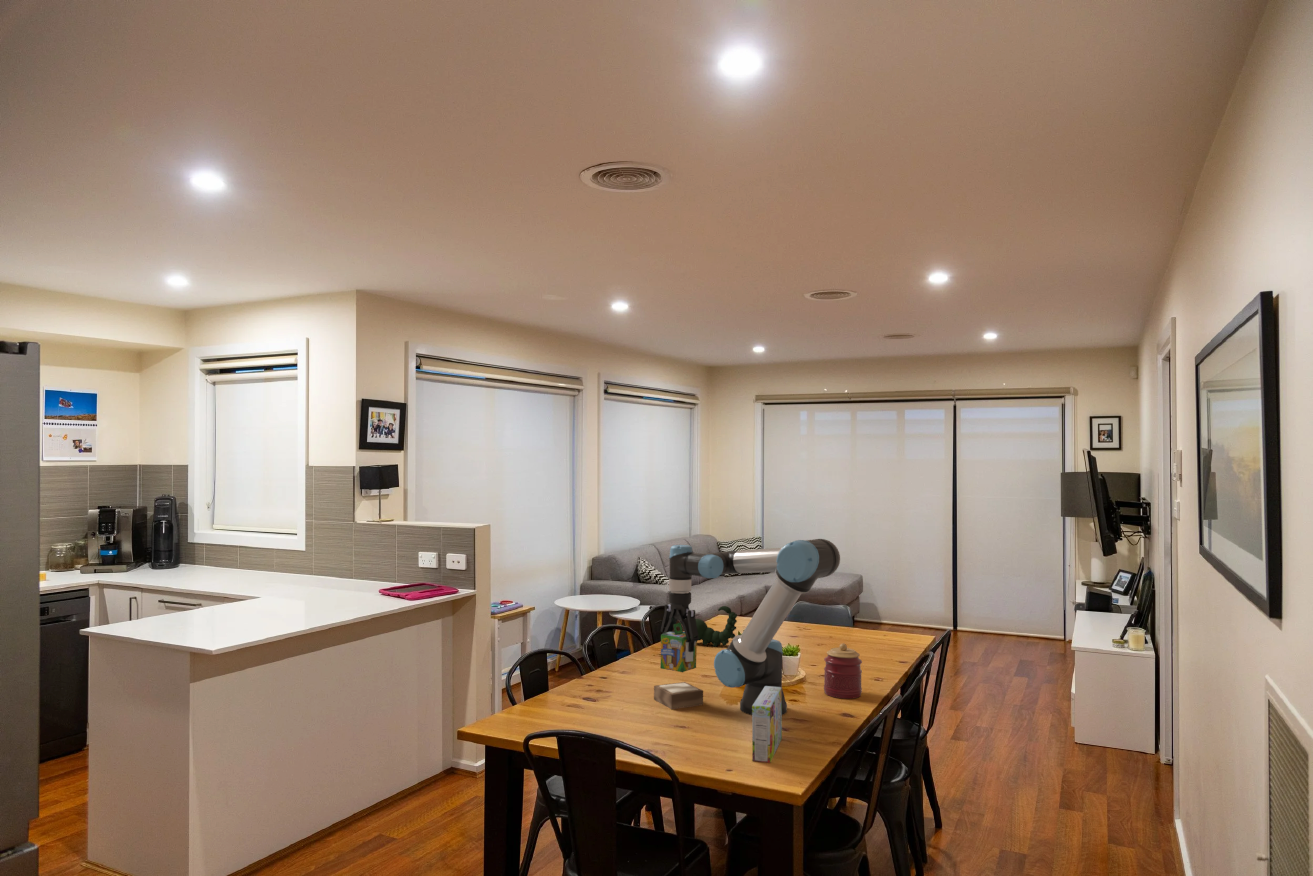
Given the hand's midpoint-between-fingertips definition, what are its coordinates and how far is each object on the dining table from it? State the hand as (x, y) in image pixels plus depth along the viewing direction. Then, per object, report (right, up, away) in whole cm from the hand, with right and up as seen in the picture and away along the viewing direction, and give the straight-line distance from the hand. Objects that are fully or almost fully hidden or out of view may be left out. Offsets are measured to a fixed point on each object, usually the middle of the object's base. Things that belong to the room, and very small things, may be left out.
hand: (678, 658), depth 275 cm
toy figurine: (+15, -18, +89) cm, 92 cm away
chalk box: (0, -4, 0) cm, 4 cm away
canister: (+58, -16, +13) cm, 61 cm away
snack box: (+23, -14, -45) cm, 53 cm away
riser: (0, -15, -1) cm, 15 cm away
